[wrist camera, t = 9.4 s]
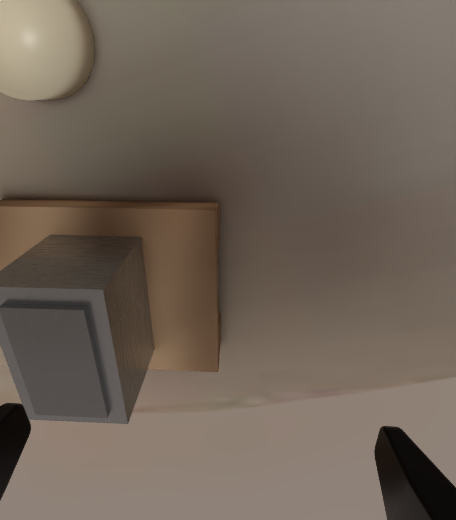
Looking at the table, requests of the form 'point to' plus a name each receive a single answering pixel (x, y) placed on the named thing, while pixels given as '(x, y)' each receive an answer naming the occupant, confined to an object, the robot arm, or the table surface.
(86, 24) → the cream rounded piece
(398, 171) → the table surface
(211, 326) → the tan flat board
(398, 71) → the table surface
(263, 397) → the table surface
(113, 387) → the housing
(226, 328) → the table surface
